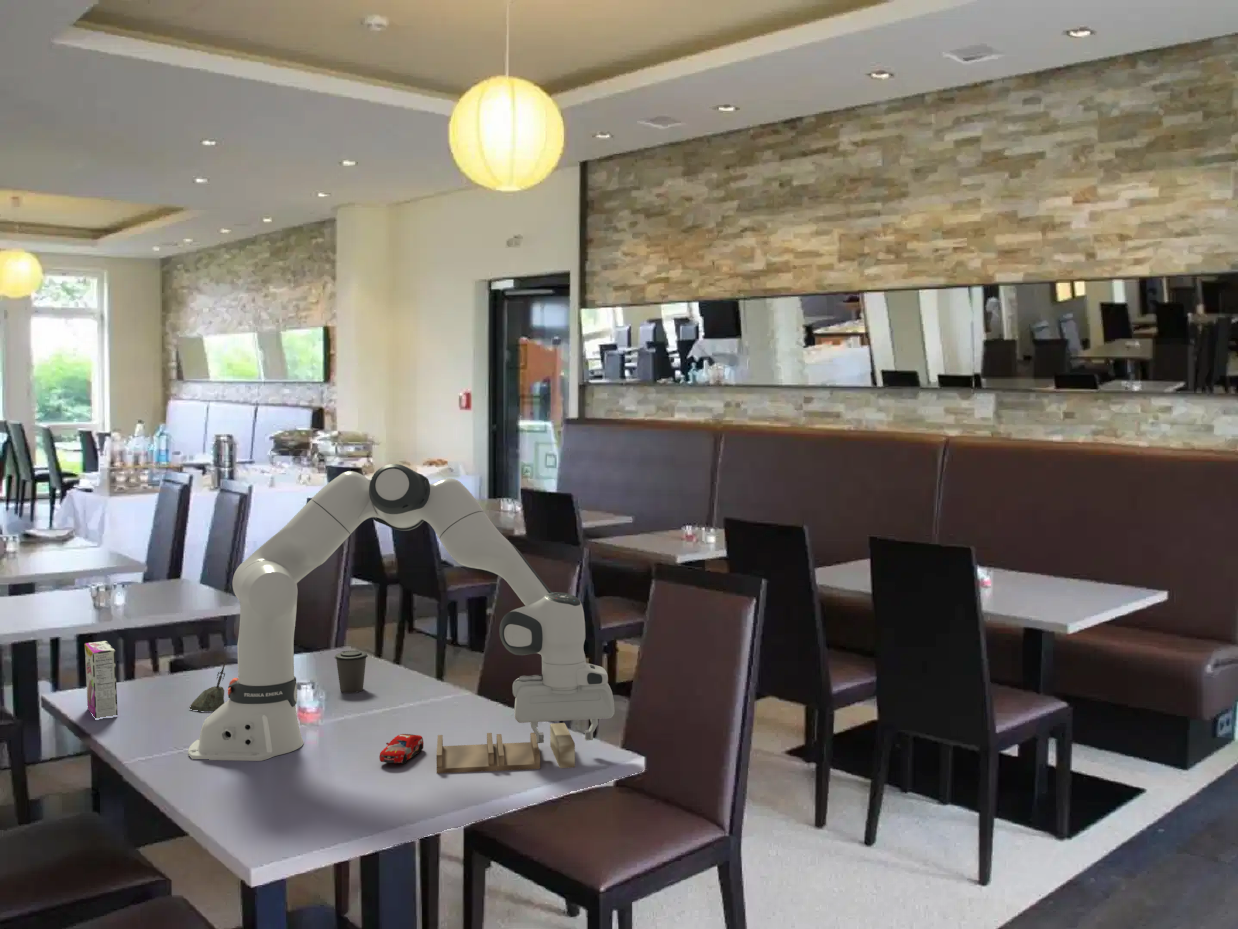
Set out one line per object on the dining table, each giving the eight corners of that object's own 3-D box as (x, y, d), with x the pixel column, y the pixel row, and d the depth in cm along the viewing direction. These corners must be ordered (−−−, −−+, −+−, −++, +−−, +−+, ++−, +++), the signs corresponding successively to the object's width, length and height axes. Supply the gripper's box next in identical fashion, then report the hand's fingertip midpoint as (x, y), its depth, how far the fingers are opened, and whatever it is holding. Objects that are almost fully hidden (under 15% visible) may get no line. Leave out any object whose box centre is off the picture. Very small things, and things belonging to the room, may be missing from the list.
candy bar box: (85, 713, 257) (83, 643, 256) (109, 709, 260) (107, 640, 259) (94, 724, 248) (92, 652, 247) (118, 721, 251) (116, 649, 250)
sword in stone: (191, 719, 253) (189, 666, 252) (184, 710, 260) (183, 660, 259) (236, 712, 258) (235, 661, 258) (229, 704, 265) (227, 654, 264)
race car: (400, 768, 217) (400, 747, 216) (374, 765, 218) (375, 745, 218) (428, 749, 229) (428, 730, 229) (403, 747, 231) (404, 727, 231)
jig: (436, 774, 215) (436, 756, 215) (438, 751, 229) (437, 734, 229) (540, 769, 218) (539, 751, 218) (535, 746, 232) (535, 730, 231)
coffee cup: (334, 689, 278) (333, 649, 277) (367, 686, 280) (366, 647, 280) (335, 697, 270) (335, 656, 270) (370, 694, 273) (369, 654, 272)
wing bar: (559, 769, 218) (559, 744, 218) (550, 747, 232) (550, 723, 232) (574, 768, 219) (574, 743, 219) (564, 746, 233) (564, 723, 232)
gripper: (513, 680, 220) (514, 749, 221) (615, 675, 223) (616, 743, 224) (511, 672, 226) (512, 739, 227) (611, 667, 229) (611, 733, 230)
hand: (564, 741), depth 226 cm, fingers open, 8 cm apart
